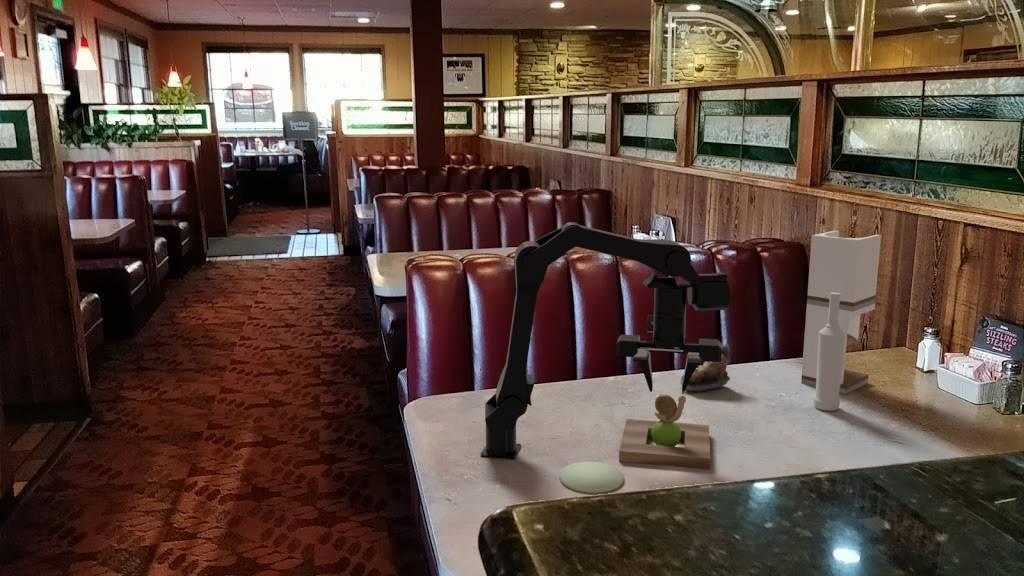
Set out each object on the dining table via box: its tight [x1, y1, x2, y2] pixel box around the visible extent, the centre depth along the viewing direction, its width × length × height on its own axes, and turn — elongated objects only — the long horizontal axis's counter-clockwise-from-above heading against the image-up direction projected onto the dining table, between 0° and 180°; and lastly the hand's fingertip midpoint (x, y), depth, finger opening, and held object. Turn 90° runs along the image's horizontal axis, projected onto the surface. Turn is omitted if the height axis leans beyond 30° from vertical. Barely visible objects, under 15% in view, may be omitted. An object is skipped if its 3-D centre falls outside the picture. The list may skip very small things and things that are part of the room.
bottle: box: [813, 292, 845, 412], centre depth 165 cm, size 5×5×25 cm
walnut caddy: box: [618, 418, 711, 470], centre depth 147 cm, size 16×16×2 cm
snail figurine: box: [651, 389, 688, 447], centre depth 146 cm, size 5×6×12 cm
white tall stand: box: [800, 230, 882, 395], centre depth 180 cm, size 11×11×35 cm
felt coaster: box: [559, 461, 625, 494], centre depth 135 cm, size 11×11×1 cm
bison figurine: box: [680, 343, 731, 392], centre depth 179 cm, size 12×7×10 cm, turn 112°
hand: (666, 392), depth 145 cm, fingers open, 5 cm apart
